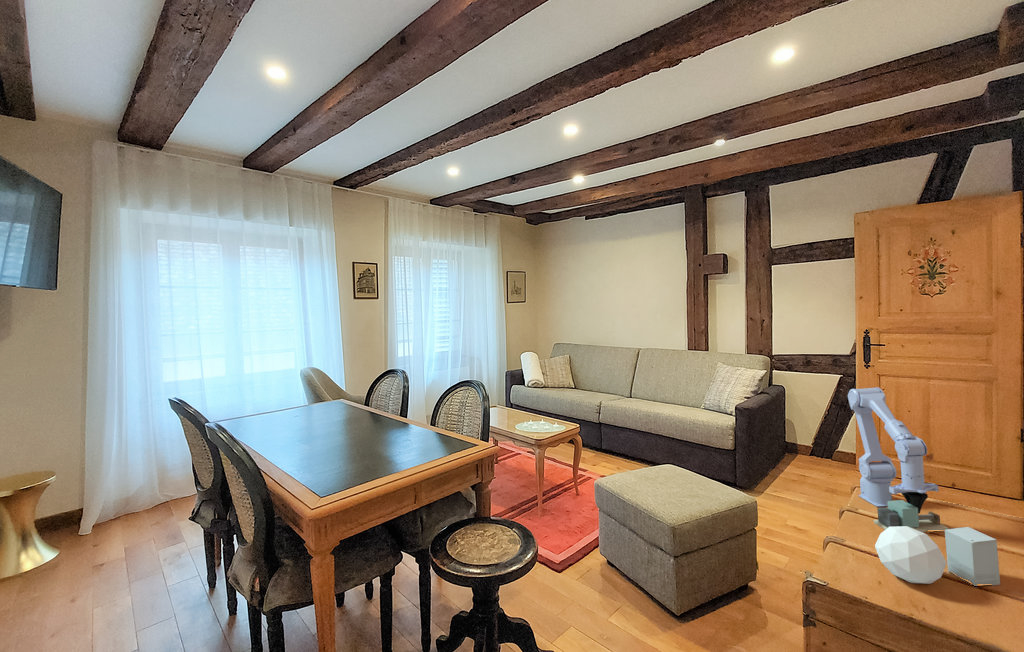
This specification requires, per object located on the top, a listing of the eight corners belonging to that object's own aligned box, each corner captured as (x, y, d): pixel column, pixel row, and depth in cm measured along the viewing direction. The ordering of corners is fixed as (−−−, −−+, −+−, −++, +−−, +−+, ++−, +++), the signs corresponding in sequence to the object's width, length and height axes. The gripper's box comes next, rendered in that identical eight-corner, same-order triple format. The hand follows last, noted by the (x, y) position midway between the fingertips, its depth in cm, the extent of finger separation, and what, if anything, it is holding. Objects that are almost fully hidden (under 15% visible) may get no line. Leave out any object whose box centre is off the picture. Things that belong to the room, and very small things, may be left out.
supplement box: (1001, 585, 114) (998, 539, 114) (974, 588, 114) (971, 542, 114) (971, 568, 121) (968, 526, 121) (946, 571, 121) (943, 528, 121)
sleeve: (888, 519, 147) (887, 501, 147) (903, 518, 147) (902, 500, 147) (903, 527, 141) (902, 509, 141) (919, 526, 141) (917, 508, 141)
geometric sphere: (922, 591, 121) (957, 552, 119) (922, 601, 111) (961, 558, 108) (866, 550, 131) (897, 513, 129) (861, 555, 121) (895, 515, 118)
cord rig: (873, 522, 149) (872, 506, 149) (927, 519, 148) (925, 502, 147) (892, 534, 141) (891, 517, 141) (949, 531, 140) (948, 513, 139)
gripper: (900, 480, 140) (903, 519, 140) (946, 476, 139) (948, 516, 139) (882, 471, 147) (885, 509, 147) (926, 468, 146) (929, 506, 146)
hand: (915, 512), depth 144 cm, fingers closed
